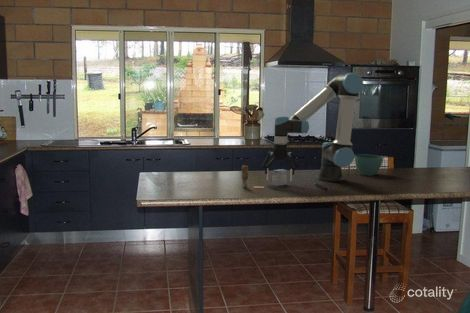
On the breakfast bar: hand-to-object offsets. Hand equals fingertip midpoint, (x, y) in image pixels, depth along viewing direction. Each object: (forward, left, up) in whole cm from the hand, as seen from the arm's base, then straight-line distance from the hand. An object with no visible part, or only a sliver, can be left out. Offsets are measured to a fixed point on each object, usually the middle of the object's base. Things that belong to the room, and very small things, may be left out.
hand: (279, 180), depth 291 cm
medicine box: (0, 0, -3) cm, 3 cm away
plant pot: (-61, -42, -3) cm, 74 cm away
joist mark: (+12, +10, -3) cm, 16 cm away
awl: (+20, +10, -3) cm, 22 cm away
